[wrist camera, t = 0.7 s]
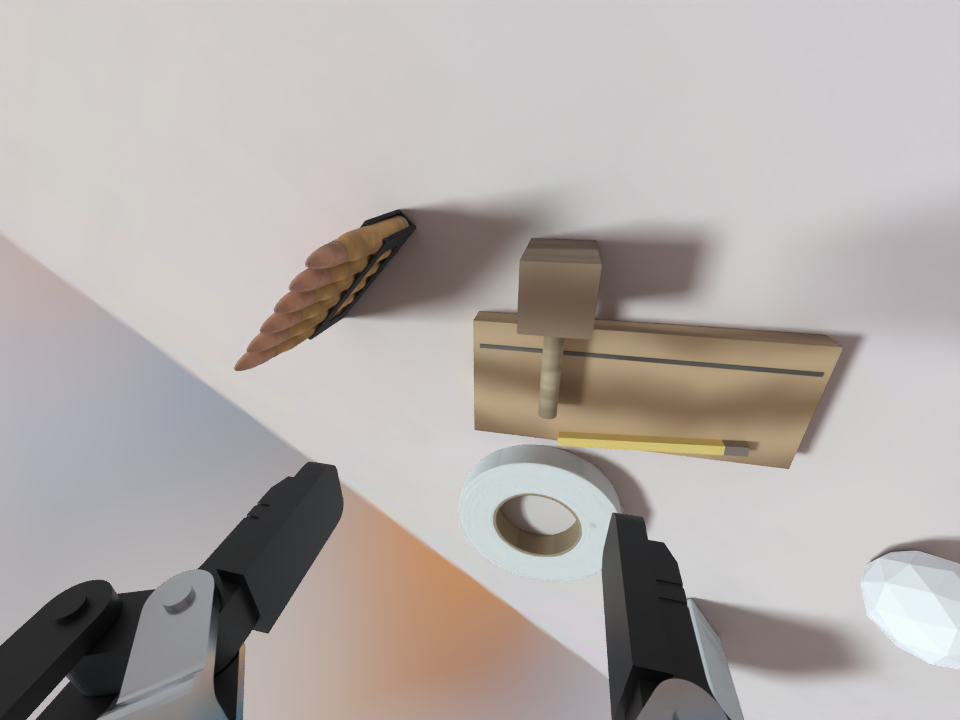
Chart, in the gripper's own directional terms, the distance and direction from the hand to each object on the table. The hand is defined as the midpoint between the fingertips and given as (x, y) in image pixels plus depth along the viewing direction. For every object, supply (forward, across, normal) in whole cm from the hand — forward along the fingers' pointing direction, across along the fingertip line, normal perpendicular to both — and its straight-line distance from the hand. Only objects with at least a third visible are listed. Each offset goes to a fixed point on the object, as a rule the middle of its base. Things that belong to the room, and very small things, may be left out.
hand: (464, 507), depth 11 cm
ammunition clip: (+21, +13, -1) cm, 25 cm away
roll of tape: (+21, -2, +22) cm, 31 cm away
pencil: (+19, -9, +11) cm, 24 cm away
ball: (+21, -32, +22) cm, 44 cm away
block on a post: (+21, -2, +2) cm, 21 cm away
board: (+21, -8, +7) cm, 24 cm away
